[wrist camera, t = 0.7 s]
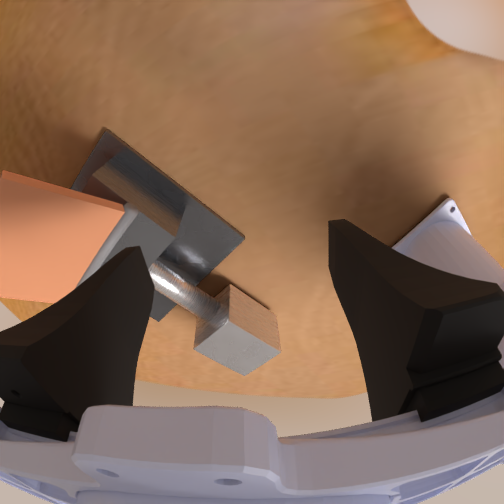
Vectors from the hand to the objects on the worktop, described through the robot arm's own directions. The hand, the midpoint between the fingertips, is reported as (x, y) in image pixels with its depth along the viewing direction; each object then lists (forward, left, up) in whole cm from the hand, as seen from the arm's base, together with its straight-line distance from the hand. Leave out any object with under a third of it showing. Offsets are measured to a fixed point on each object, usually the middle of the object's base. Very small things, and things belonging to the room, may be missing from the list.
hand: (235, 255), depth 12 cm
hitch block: (+2, +9, -10) cm, 13 cm away
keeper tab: (+7, +9, -3) cm, 12 cm away
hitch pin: (-2, +9, -9) cm, 13 cm away
